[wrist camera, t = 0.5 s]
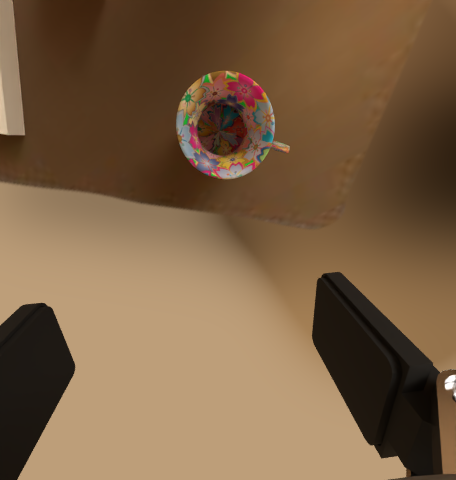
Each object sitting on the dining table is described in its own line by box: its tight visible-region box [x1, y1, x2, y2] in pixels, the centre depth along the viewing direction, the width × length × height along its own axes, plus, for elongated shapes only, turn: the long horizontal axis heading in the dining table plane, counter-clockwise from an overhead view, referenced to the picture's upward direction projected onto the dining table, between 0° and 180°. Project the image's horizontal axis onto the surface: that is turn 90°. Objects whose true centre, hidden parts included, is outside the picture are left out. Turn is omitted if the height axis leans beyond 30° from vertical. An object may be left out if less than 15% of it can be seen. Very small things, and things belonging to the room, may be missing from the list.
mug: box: [176, 71, 290, 179], centre depth 29 cm, size 12×9×11 cm
